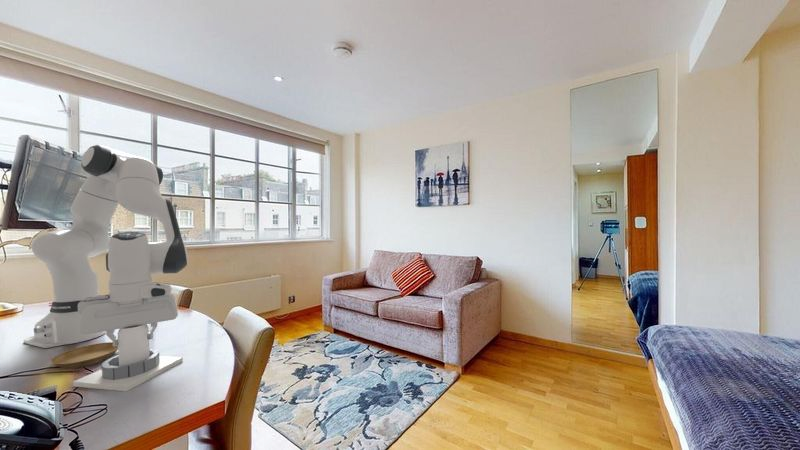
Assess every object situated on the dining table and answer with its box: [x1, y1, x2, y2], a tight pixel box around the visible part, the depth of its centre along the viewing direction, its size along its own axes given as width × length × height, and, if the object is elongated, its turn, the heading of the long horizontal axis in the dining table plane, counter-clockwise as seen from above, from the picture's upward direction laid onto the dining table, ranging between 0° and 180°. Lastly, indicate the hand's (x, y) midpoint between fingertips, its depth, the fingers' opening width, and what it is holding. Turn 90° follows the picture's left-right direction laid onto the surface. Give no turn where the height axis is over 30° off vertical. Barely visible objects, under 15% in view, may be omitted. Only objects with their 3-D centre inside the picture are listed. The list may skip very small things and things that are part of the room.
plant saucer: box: [50, 341, 118, 370], centre depth 93 cm, size 15×15×3 cm
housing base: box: [72, 348, 184, 392], centre depth 84 cm, size 16×16×4 cm
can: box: [117, 324, 151, 366], centre depth 85 cm, size 6×6×12 cm
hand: (133, 342), depth 84 cm, fingers closed on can, 5 cm apart
